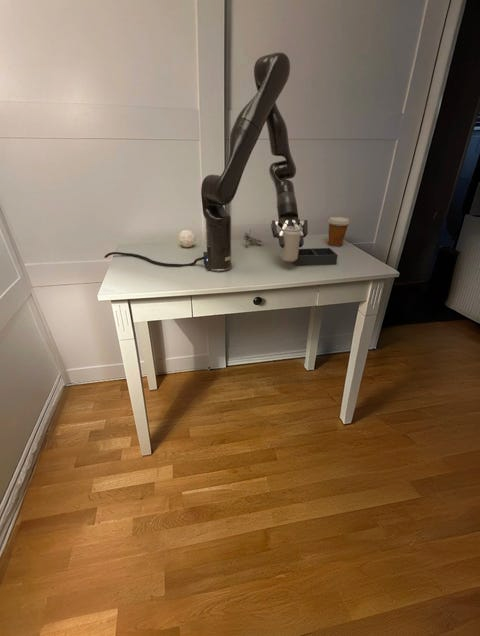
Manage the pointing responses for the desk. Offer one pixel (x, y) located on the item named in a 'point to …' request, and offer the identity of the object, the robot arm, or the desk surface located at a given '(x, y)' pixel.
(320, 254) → the divided tray
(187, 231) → the geometric ball
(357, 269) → the desk surface
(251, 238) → the elephant figurine
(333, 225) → the disposable coffee cup
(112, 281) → the desk surface
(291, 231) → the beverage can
